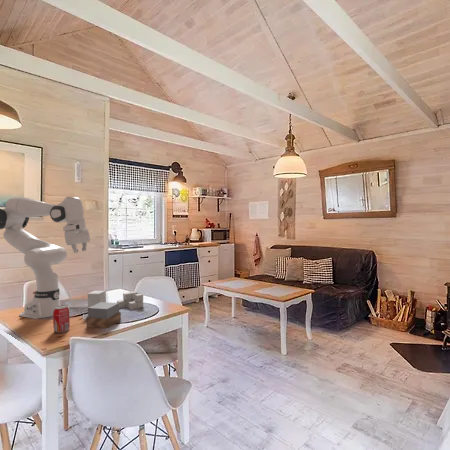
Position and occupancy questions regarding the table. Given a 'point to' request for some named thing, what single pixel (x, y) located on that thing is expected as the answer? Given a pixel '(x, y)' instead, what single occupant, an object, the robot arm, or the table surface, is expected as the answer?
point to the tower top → (103, 310)
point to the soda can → (61, 319)
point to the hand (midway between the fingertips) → (80, 251)
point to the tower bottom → (103, 321)
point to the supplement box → (96, 297)
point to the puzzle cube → (131, 300)
